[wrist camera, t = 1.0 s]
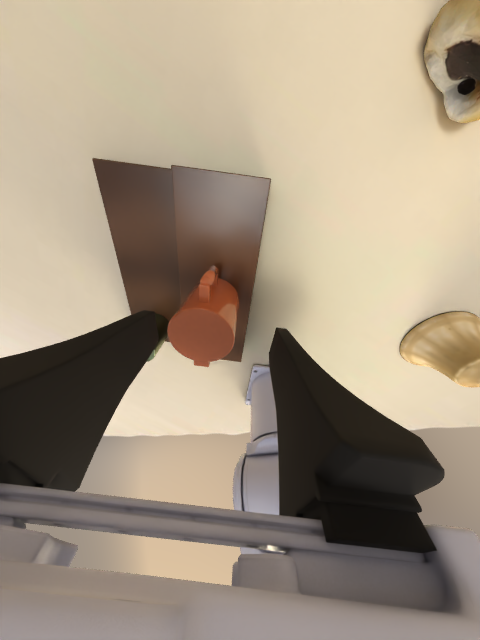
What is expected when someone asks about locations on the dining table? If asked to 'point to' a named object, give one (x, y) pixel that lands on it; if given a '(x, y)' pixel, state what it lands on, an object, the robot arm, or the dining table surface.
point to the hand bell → (447, 346)
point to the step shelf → (183, 233)
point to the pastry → (456, 58)
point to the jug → (206, 320)
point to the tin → (160, 333)
